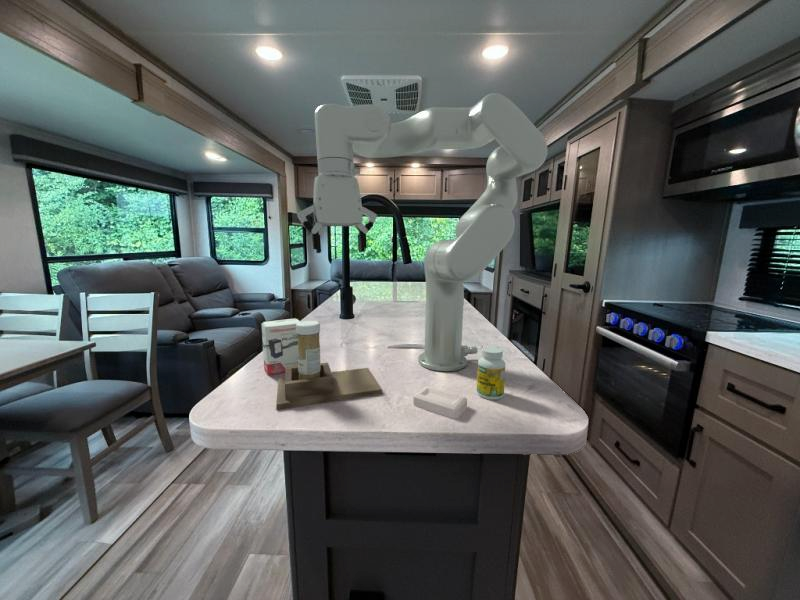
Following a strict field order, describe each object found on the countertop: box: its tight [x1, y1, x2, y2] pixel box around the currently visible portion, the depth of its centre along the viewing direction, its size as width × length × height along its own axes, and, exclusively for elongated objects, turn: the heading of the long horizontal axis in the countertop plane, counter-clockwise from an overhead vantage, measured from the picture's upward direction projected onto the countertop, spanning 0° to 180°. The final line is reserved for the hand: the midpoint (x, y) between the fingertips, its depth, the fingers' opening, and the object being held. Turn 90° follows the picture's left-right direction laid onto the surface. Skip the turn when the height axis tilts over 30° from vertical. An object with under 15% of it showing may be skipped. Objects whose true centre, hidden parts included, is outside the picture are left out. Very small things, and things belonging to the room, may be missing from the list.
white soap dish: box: [412, 385, 468, 420], centre depth 57 cm, size 5×9×2 cm, turn 56°
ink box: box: [261, 318, 301, 376], centre depth 73 cm, size 8×5×12 cm, turn 123°
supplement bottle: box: [476, 346, 506, 401], centre depth 61 cm, size 5×5×10 cm
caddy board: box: [275, 362, 383, 410], centre depth 64 cm, size 20×12×4 cm, turn 110°
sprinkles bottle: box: [296, 320, 321, 380], centre depth 61 cm, size 5×5×13 cm
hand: (340, 252), depth 68 cm, fingers open, 9 cm apart
